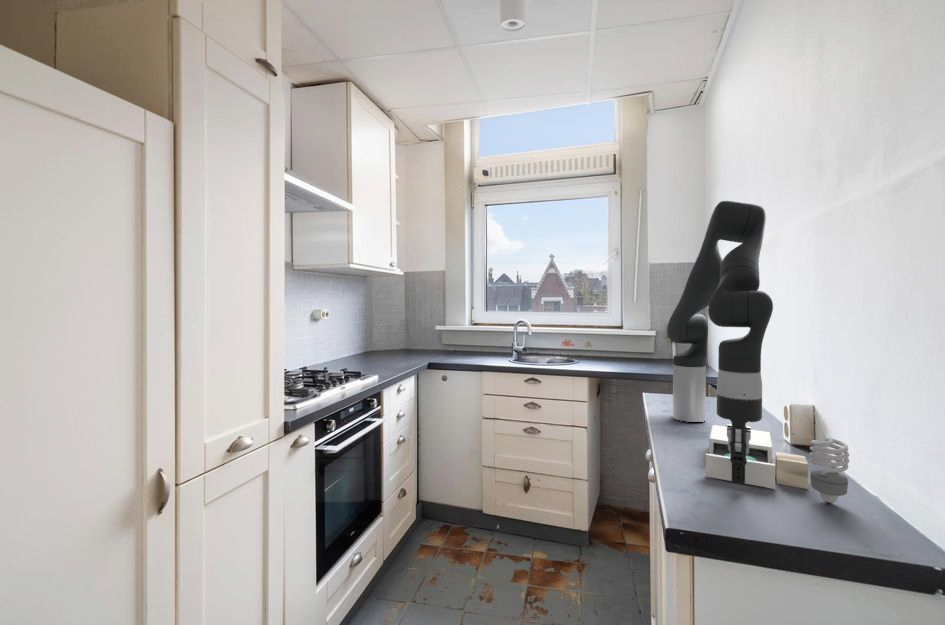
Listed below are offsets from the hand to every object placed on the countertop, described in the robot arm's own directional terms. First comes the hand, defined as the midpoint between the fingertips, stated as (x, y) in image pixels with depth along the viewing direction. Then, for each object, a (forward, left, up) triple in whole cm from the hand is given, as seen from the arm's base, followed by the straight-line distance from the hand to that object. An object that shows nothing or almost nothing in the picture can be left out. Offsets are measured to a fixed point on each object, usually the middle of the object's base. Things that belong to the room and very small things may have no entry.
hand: (738, 481), depth 85 cm
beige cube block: (-11, +9, -2) cm, 14 cm away
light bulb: (-3, +14, -2) cm, 15 cm away
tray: (-11, 0, -2) cm, 11 cm away
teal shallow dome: (-9, 0, 0) cm, 9 cm away
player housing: (-21, 0, -2) cm, 21 cm away
